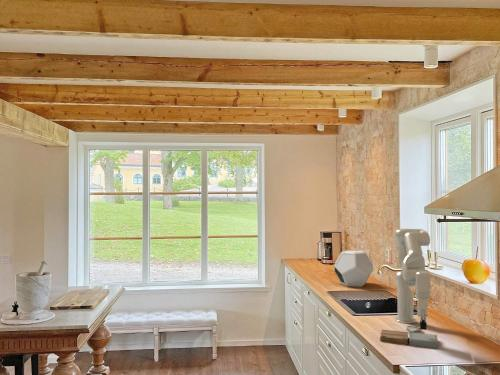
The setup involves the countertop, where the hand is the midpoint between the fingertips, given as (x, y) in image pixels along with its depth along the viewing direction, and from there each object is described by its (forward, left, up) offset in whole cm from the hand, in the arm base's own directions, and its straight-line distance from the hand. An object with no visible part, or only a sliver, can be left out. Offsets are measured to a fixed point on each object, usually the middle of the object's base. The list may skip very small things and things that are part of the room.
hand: (423, 328), depth 244 cm
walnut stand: (0, -15, -8) cm, 17 cm away
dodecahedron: (-148, -56, -8) cm, 158 cm away
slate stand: (0, 0, -8) cm, 8 cm away
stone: (-12, -6, -8) cm, 16 cm away
